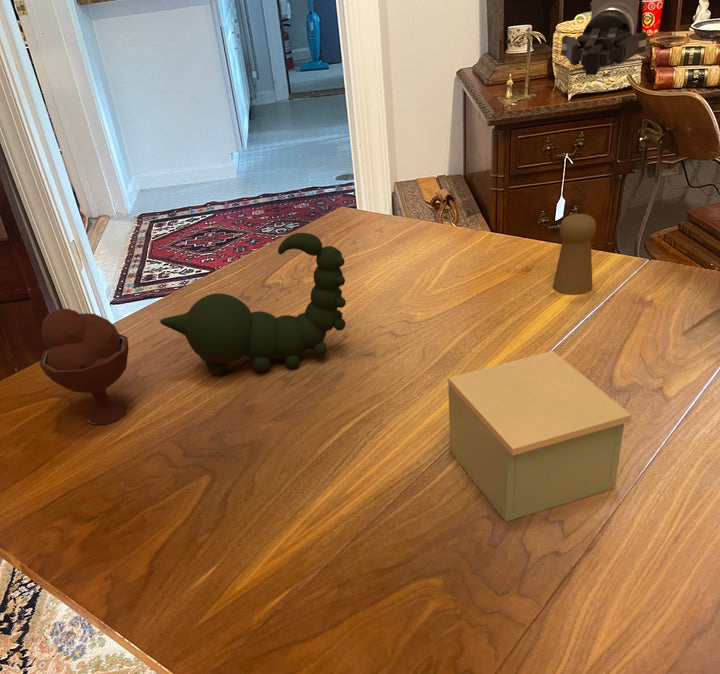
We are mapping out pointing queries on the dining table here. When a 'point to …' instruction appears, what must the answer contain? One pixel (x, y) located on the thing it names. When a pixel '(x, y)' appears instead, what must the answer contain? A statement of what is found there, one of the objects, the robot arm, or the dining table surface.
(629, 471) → the dining table surface
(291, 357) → the toy figurine
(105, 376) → the ice cream bowl
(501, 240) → the dining table surface
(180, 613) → the dining table surface
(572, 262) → the cork
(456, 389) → the caddy lid
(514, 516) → the box
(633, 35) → the robot arm
